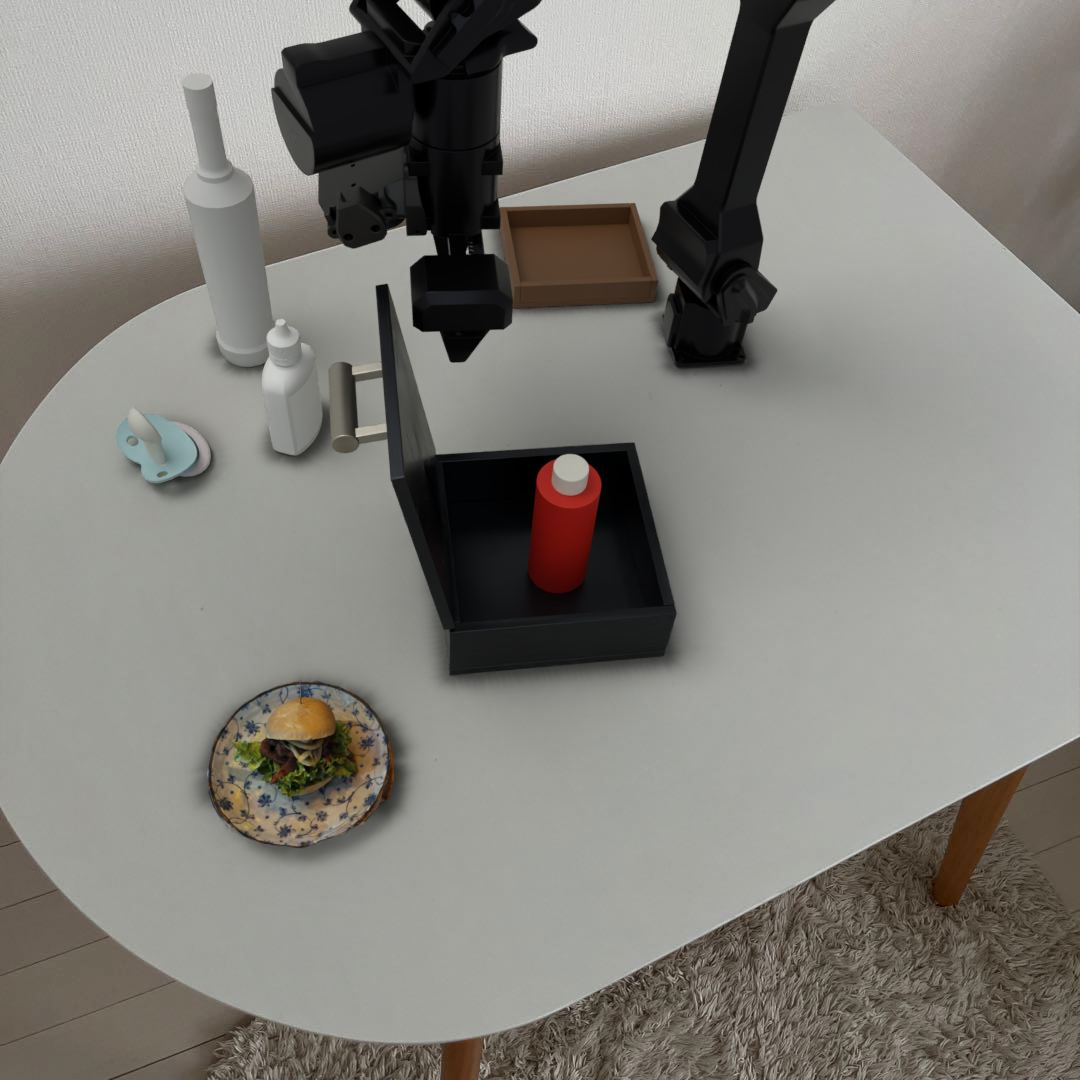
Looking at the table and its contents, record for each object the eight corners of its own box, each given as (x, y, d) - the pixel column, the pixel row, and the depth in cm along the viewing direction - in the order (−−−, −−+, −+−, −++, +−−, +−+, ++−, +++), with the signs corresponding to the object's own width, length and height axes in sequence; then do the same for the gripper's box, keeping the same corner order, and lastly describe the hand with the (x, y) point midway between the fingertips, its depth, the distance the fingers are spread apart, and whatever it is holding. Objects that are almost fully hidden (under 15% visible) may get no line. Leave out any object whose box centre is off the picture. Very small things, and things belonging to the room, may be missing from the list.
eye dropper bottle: (342, 429, 91) (330, 320, 82) (287, 464, 89) (268, 356, 79) (308, 400, 93) (292, 289, 83) (253, 433, 90) (230, 324, 81)
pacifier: (178, 415, 91) (112, 448, 88) (165, 359, 86) (94, 393, 84) (228, 468, 88) (161, 504, 86) (218, 413, 83) (146, 450, 81)
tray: (631, 224, 109) (635, 202, 107) (654, 302, 103) (658, 280, 101) (498, 229, 108) (499, 206, 106) (513, 308, 101) (514, 286, 99)
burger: (174, 810, 71) (149, 760, 65) (274, 666, 78) (259, 609, 72) (338, 890, 69) (327, 846, 63) (426, 734, 76) (424, 681, 70)
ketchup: (580, 543, 85) (598, 440, 76) (590, 591, 83) (609, 490, 73) (524, 547, 85) (534, 444, 75) (531, 595, 82) (543, 495, 72)
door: (387, 282, 69) (318, 295, 69) (404, 477, 60) (324, 491, 60) (435, 449, 83) (377, 459, 83) (455, 628, 74) (390, 640, 74)
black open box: (625, 488, 90) (634, 441, 85) (664, 656, 81) (677, 613, 76) (431, 502, 88) (430, 454, 83) (449, 675, 79) (449, 633, 74)
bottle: (268, 374, 94) (219, 109, 74) (209, 362, 95) (145, 95, 75) (288, 333, 97) (247, 67, 77) (231, 321, 98) (175, 54, 78)
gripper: (319, 38, 72) (339, 233, 85) (318, 225, 61) (341, 416, 74) (490, 38, 73) (485, 230, 86) (519, 221, 63) (508, 409, 75)
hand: (453, 315), depth 80 cm, fingers open, 9 cm apart
